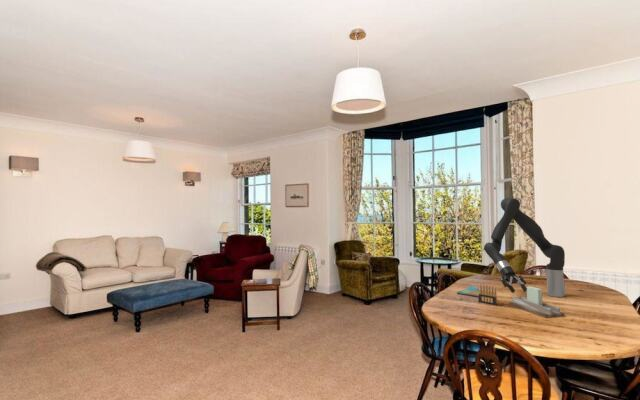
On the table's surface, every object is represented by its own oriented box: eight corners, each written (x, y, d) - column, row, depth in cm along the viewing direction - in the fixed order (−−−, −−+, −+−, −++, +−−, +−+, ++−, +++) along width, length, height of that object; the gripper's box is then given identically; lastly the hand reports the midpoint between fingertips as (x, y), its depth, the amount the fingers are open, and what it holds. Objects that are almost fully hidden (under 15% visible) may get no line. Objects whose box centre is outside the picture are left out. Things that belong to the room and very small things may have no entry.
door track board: (526, 303, 213) (525, 295, 213) (564, 316, 187) (564, 307, 187) (509, 304, 210) (508, 297, 210) (545, 317, 185) (545, 309, 185)
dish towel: (495, 292, 242) (495, 289, 242) (482, 299, 226) (481, 295, 226) (470, 289, 255) (470, 285, 255) (456, 294, 238) (455, 291, 238)
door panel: (531, 305, 203) (530, 286, 203) (542, 309, 195) (541, 289, 196) (527, 305, 203) (526, 286, 203) (538, 309, 195) (538, 289, 195)
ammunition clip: (497, 305, 210) (496, 284, 211) (496, 305, 209) (495, 285, 209) (479, 301, 218) (479, 282, 219) (478, 302, 217) (477, 282, 218)
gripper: (498, 266, 217) (513, 288, 206) (518, 265, 220) (533, 287, 209) (492, 273, 222) (506, 295, 211) (511, 272, 225) (526, 294, 214)
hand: (519, 291), depth 210 cm, fingers open, 8 cm apart
